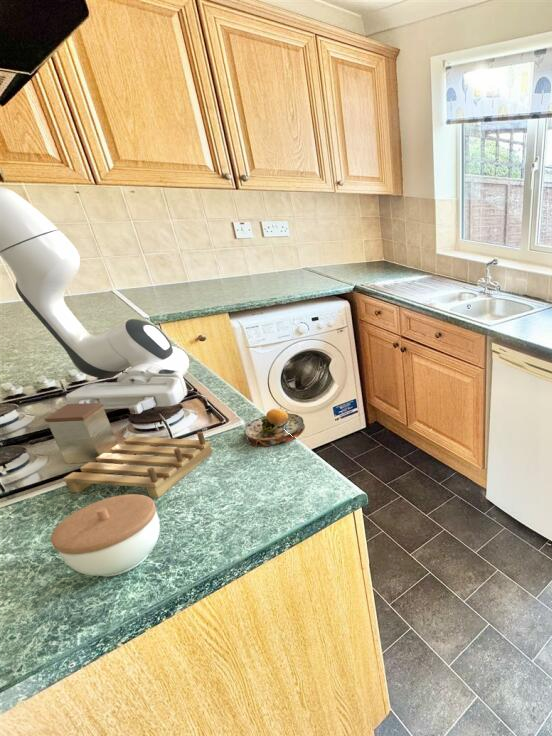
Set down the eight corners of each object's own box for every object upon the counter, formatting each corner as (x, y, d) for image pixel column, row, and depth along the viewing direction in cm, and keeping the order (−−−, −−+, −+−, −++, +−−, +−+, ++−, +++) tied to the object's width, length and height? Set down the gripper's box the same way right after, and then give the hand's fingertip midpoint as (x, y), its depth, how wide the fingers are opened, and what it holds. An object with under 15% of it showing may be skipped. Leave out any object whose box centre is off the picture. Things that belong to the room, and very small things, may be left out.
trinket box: (60, 567, 60) (32, 516, 56) (150, 522, 68) (131, 476, 64) (90, 604, 55) (62, 552, 51) (183, 551, 63) (165, 503, 59)
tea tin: (65, 464, 80) (44, 418, 76) (85, 447, 85) (66, 404, 81) (101, 461, 81) (82, 416, 77) (119, 445, 86) (102, 402, 82)
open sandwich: (286, 414, 102) (281, 386, 98) (316, 430, 96) (311, 401, 93) (234, 434, 92) (226, 405, 89) (263, 453, 87) (256, 422, 83)
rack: (68, 492, 73) (56, 466, 71) (136, 447, 86) (127, 424, 84) (159, 498, 73) (150, 472, 71) (213, 453, 86) (207, 430, 84)
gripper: (85, 373, 96) (39, 401, 84) (188, 370, 101) (158, 396, 88) (95, 398, 98) (52, 428, 86) (195, 394, 103) (167, 422, 91)
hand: (106, 412), depth 87 cm, fingers open, 8 cm apart
